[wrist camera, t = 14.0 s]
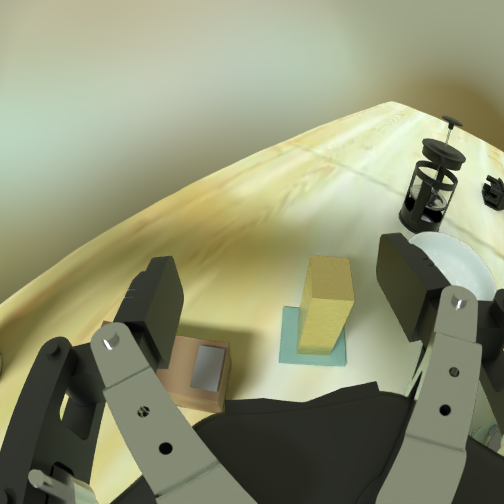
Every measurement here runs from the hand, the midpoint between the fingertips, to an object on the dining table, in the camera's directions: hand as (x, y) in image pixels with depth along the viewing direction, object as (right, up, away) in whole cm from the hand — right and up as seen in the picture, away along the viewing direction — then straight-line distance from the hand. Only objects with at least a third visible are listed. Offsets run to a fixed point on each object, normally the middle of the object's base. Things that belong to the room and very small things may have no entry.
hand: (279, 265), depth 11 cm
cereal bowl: (+27, -7, +28) cm, 40 cm away
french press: (+33, +6, +42) cm, 54 cm away
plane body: (-11, -14, +20) cm, 27 cm away
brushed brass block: (+7, -10, +24) cm, 27 cm away
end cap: (+69, +15, +51) cm, 87 cm away
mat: (+7, -10, +24) cm, 27 cm away
